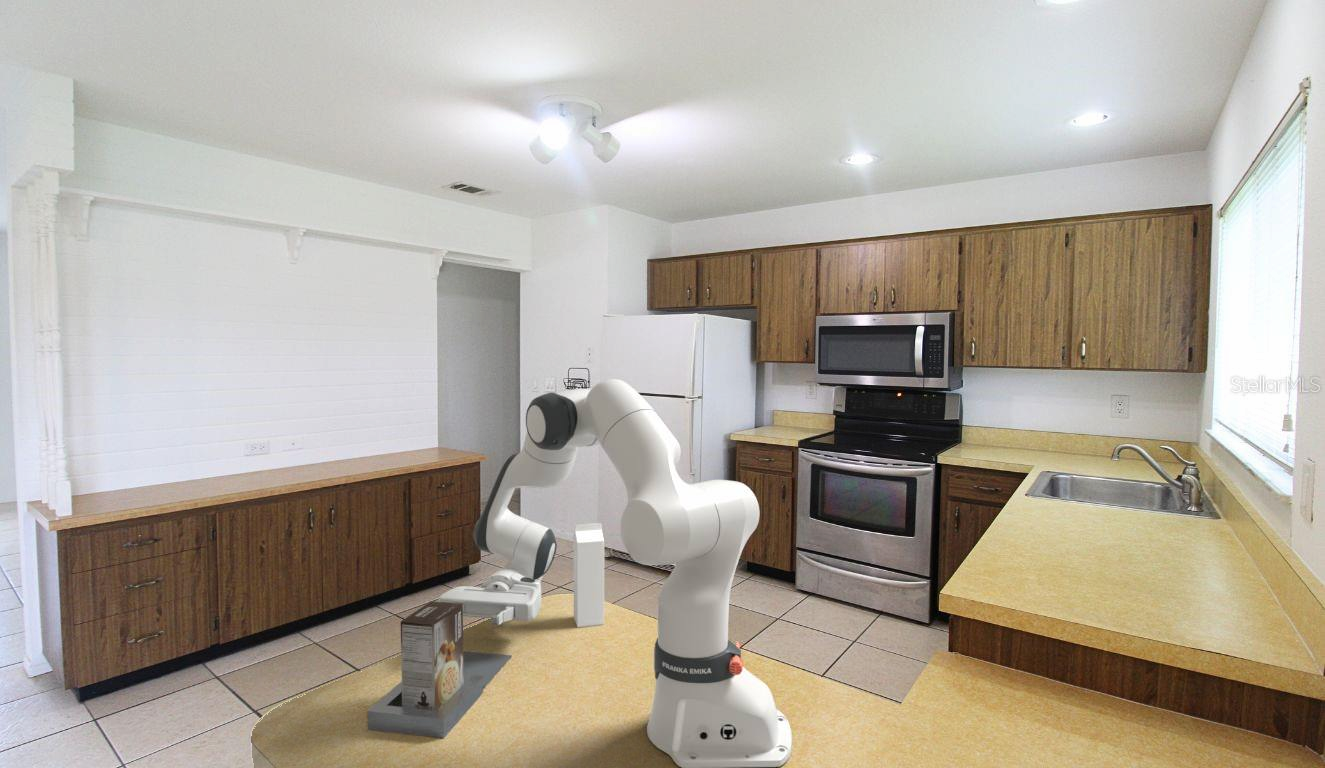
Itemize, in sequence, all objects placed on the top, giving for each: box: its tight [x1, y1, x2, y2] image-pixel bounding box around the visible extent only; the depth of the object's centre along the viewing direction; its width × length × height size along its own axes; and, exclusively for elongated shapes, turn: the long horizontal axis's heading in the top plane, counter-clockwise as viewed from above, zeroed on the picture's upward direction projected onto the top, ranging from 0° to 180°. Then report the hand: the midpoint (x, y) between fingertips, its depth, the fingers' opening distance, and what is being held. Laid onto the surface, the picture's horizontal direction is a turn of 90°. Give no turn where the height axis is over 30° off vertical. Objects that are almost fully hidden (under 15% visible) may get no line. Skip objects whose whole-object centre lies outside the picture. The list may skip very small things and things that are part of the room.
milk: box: [573, 522, 605, 628], centre depth 140 cm, size 6×6×22 cm
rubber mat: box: [463, 650, 513, 689], centre depth 118 cm, size 12×12×1 cm
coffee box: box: [400, 601, 464, 711], centre depth 106 cm, size 9×6×16 cm
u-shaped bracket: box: [366, 675, 484, 739], centre depth 104 cm, size 13×14×3 cm
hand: (472, 619), depth 119 cm, fingers open, 8 cm apart
